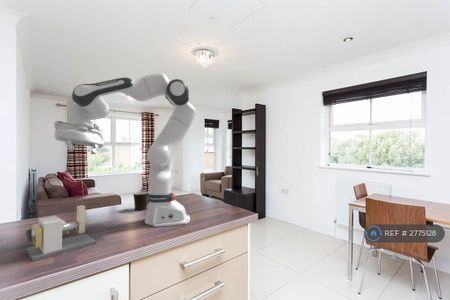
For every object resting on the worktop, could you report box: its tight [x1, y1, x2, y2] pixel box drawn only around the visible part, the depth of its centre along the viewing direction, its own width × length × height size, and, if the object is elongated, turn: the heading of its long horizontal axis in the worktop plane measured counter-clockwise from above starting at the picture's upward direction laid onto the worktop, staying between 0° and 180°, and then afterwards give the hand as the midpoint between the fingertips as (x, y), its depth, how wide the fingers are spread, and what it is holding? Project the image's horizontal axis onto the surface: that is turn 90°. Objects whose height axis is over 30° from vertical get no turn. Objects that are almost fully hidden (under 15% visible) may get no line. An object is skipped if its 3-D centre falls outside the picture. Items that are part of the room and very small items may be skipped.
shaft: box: [31, 204, 86, 240], centre depth 80 cm, size 15×3×10 cm, turn 139°
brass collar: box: [31, 223, 42, 248], centre depth 75 cm, size 2×6×6 cm, turn 50°
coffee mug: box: [133, 191, 148, 212], centre depth 131 cm, size 12×9×10 cm
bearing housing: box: [26, 215, 97, 262], centre depth 81 cm, size 18×11×11 cm, turn 139°
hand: (83, 151), depth 97 cm, fingers open, 8 cm apart
